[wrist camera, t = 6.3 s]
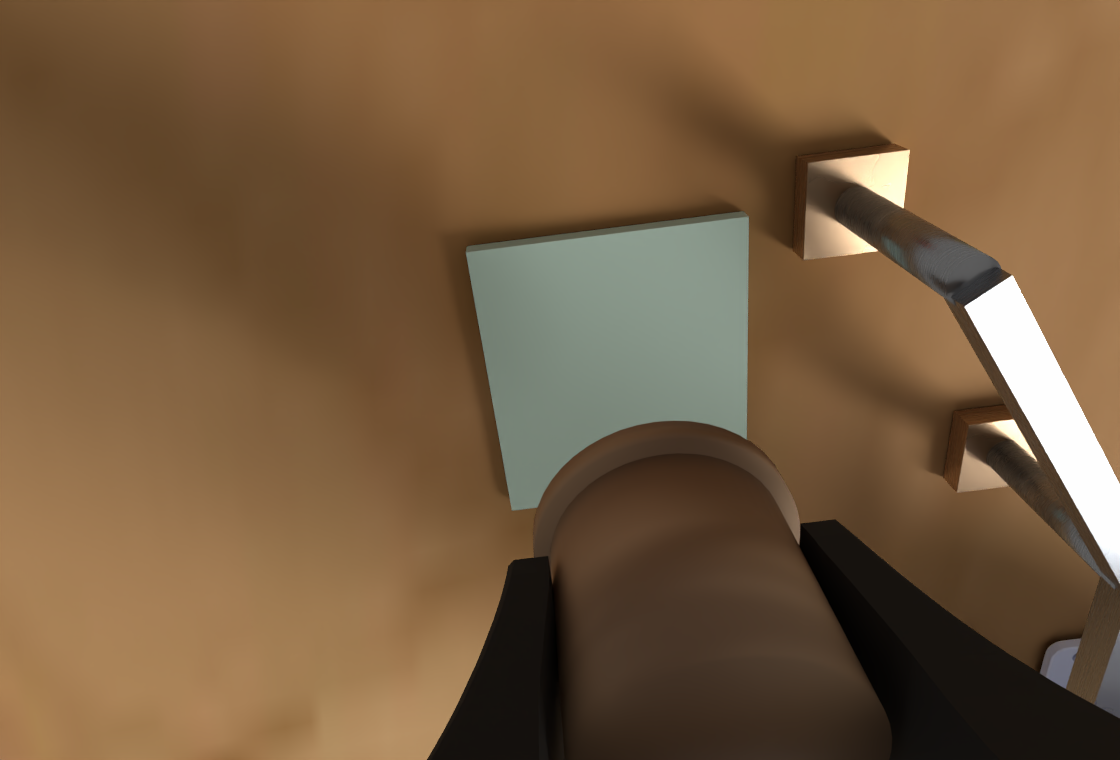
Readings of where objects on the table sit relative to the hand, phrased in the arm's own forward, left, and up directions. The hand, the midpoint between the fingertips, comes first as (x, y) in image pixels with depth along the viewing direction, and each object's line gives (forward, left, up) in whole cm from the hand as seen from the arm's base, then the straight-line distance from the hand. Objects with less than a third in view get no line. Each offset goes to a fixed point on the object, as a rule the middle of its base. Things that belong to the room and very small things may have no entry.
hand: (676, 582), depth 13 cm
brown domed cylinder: (0, 0, -1) cm, 1 cm away
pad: (0, 0, -8) cm, 8 cm away
